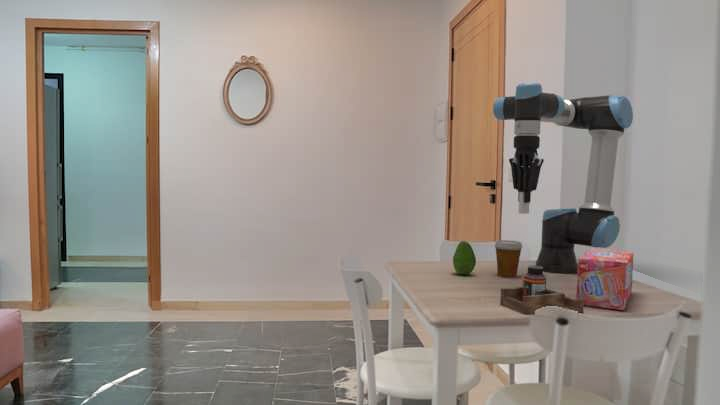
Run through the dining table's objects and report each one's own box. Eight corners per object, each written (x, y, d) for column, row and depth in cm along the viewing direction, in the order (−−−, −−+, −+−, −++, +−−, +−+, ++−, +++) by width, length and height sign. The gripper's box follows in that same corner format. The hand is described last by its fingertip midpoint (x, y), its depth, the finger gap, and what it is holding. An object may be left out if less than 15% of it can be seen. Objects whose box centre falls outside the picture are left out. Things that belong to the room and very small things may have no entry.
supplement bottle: (519, 304, 154) (520, 264, 153) (539, 304, 154) (541, 264, 153) (527, 310, 148) (529, 268, 147) (548, 310, 148) (550, 268, 147)
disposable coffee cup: (522, 279, 187) (523, 244, 186) (493, 277, 189) (495, 243, 188) (519, 274, 196) (521, 240, 195) (492, 272, 198) (494, 239, 197)
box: (588, 287, 177) (590, 245, 176) (632, 293, 171) (634, 249, 170) (574, 305, 154) (577, 257, 153) (624, 312, 148) (627, 262, 147)
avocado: (450, 275, 190) (451, 241, 190) (455, 271, 198) (456, 238, 197) (473, 278, 187) (474, 243, 187) (477, 273, 195) (478, 240, 194)
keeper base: (548, 299, 159) (549, 284, 159) (586, 312, 146) (586, 295, 146) (500, 304, 153) (500, 288, 152) (534, 318, 140) (535, 300, 139)
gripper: (502, 135, 169) (500, 211, 171) (531, 134, 157) (528, 215, 159) (522, 136, 172) (519, 211, 174) (552, 135, 160) (548, 215, 162)
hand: (523, 213), depth 167 cm, fingers closed
